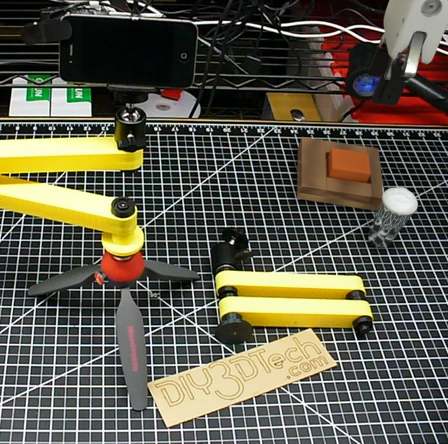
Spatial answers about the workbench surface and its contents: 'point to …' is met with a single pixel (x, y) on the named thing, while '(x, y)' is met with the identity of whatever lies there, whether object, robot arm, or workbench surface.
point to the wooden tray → (331, 187)
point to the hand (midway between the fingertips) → (381, 88)
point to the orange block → (348, 165)
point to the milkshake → (391, 215)
